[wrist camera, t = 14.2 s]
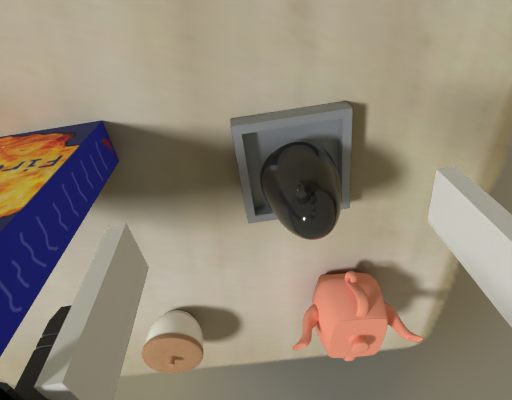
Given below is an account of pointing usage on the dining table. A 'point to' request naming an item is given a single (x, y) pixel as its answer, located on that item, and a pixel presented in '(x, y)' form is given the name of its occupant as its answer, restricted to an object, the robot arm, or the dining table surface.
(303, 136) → the tray
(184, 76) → the dining table surface
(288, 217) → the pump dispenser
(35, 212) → the cereal box
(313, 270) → the dining table surface
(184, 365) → the lidded jar
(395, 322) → the teapot
